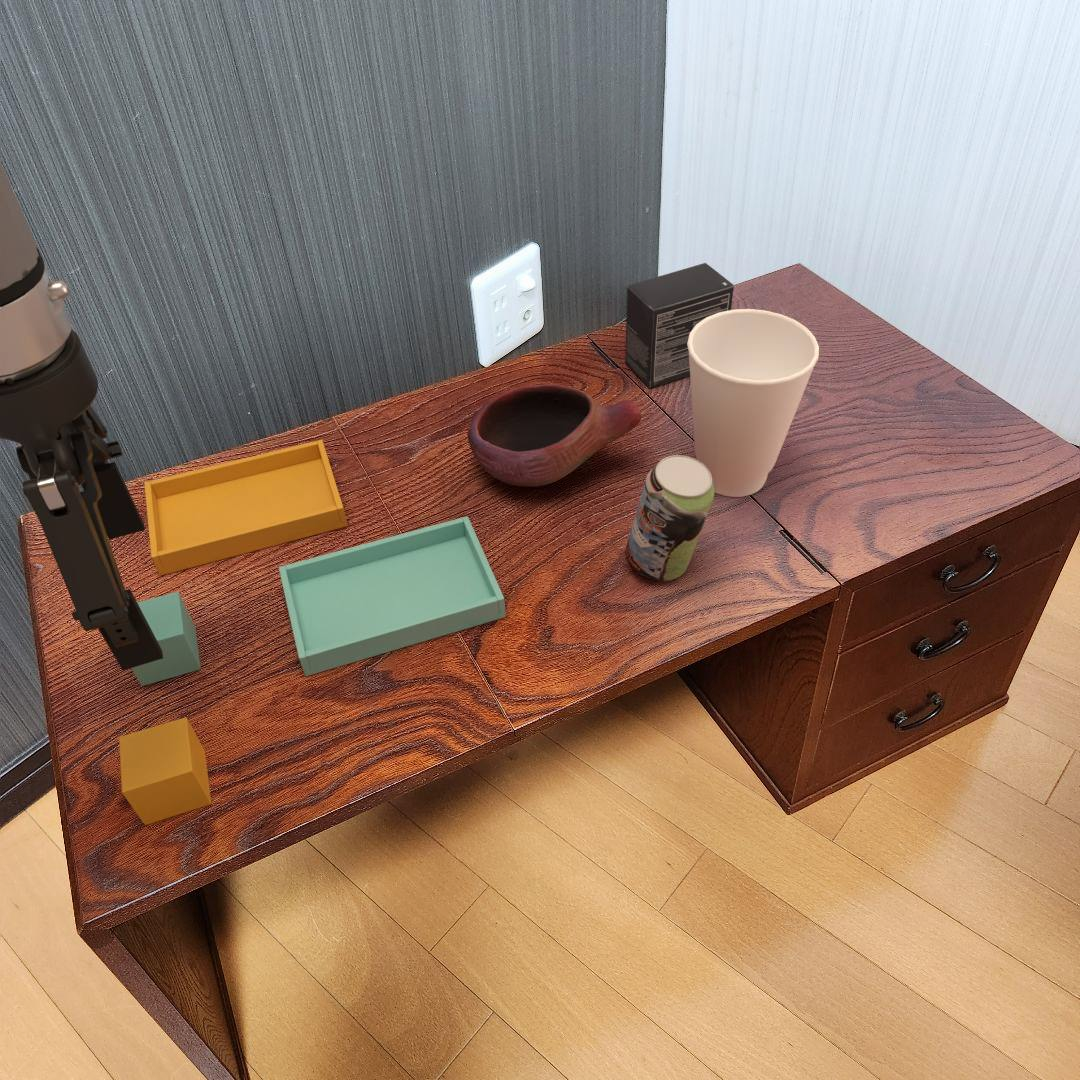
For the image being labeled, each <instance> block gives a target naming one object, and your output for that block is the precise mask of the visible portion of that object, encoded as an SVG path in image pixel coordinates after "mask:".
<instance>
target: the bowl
mask: <svg viewBox="0 0 1080 1080" xmlns="http://www.w3.org/2000/svg"><path fill="white" fill-rule="evenodd" d="M641 412H642V411H641V408H640V407H639V406H638V404H637V403H636V402H635V401H634V400H631V399H623V400H620V401H618V402H616V403H614V404H608V405H607V404H599V403H598V402H597V401H596V400H594V398H593V397H592V396H591V395H589V394H588V393H587V392H586V391H584V390H580V389H578V388H576V387H573V386H568V385H564V384H558V383H557V384H555V383H545V384H535V385H523V386H518V387H514V388H511V389H508V390H506V391H505V390H504V391H503V392H501V393H499V394H496V395H494V396H492V397H491V398H490V399H488V400H487V401H486V402H485V403H483V405H482V407H481V408H480V409H479V410H478V411H477V412H476V413H475V414H474V415H473V416H472V417H471V421H470V424H469V428H468V430H467V432H466V435H467V440H468V443H469V446H470V447H469V448H470V450H471V452H472V455H473V456H474V458H475V460H476V461H477V462H478V464H479V466H480V467H481V468H482V469H483V470H484V471H485V472H486V473H487V474H489V475H490V476H492V477H493V478H495V479H496V480H498V481H500V482H502V483H505V484H508V485H511V486H516V487H542V486H546V485H550V484H553V483H555V482H557V481H560V480H561V479H563V478H565V477H567V476H568V475H569V474H571V473H573V471H575V470H576V469H577V468H579V467H580V466H581V465H583V464H584V463H585V462H586V461H587V460H588V459H590V458H591V457H592V456H593V455H595V454H596V453H597V452H598V451H600V450H602V448H605V446H607V445H609V444H611V443H613V442H615V441H616V440H618V439H620V438H622V437H623V436H625V435H627V434H628V433H630V432H631V431H633V430H634V429H635V428H636V427H637V426H638V425H639V424H640V422H641V421H642V413H641Z"/></svg>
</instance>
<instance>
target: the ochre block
mask: <svg viewBox="0 0 1080 1080" xmlns="http://www.w3.org/2000/svg"><path fill="white" fill-rule="evenodd" d="M118 741H119V759H120V760H119V761H120V782H121V783H120V784H121V794H122V795H123V796H124V799H126V801H127V802H128V803H129V805H130V806H131V807H132V809H133V810H134V812H135V813H136V815H137V816H138V818H139V819H140V820H141V822H142V824H143V825H144V826H148V825H150V824H154V823H158V822H160V821H163V820H166V819H169V818H172V817H175V816H178V815H182V814H185V813H188V812H191V811H194V810H198V809H200V808H201V809H202V808H203V807H204V808H205V807H206V806H210V805H212V798H211V797H212V796H211V787H210V781H209V773H208V766H207V765H208V763H207V757H206V750H205V749H204V747H203V745H202V743H201V742H200V739H199V737H198V736H197V734H196V732H195V730H194V728H193V727H192V725H191V723H190V721H189V719H188V718H187V717H182V718H178V719H175V720H171V721H167V722H165V723H161V724H159V725H155V726H152V727H148V728H145V729H142V730H139V731H134V732H131V733H127V734H125V735H121V736H119V738H118Z"/></svg>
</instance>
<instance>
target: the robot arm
mask: <svg viewBox="0 0 1080 1080" xmlns="http://www.w3.org/2000/svg"><path fill="white" fill-rule="evenodd" d="M36 242H37V241H36V240H35V238H34V236H33V233H32V231H31V228H30V227H29V224H28V221H27V219H26V217H25V215H24V212H23V210H22V208H21V205H20V203H19V200H18V199H17V196H16V194H15V191H14V189H13V187H12V185H11V183H10V180H9V178H8V176H7V173H6V171H5V167H4V166H3V163H2V162H1V161H0V440H6V441H9V442H14V443H17V444H19V446H16V447H15V451H16V452H15V453H16V456H17V458H18V462H19V464H20V468H21V469H22V471H23V472H24V473H26V474H27V476H28V478H29V479H27V480H24V481H22V492H23V495H24V496H25V497H26V498H27V500H28V502H29V504H30V506H31V508H32V510H33V512H34V514H35V515H36V518H37V519H38V521H39V523H40V526H41V528H42V532H43V533H44V536H45V538H46V540H47V543H48V545H49V549H50V551H51V553H52V555H53V558H54V561H55V563H56V565H57V568H58V570H59V572H60V575H61V578H62V580H63V582H64V584H65V587H66V589H67V592H68V594H69V597H70V599H71V601H72V604H73V607H74V609H75V610H74V611H72V612H71V616H72V618H73V620H74V621H75V622H77V621H79V625H80V626H81V628H82V629H83V631H85V632H89V631H90V632H91V631H93V630H96V629H97V630H98V631H99V633H100V634H101V636H102V638H103V640H104V641H105V643H106V645H107V646H108V648H109V650H110V652H111V654H112V655H113V657H114V658H115V660H116V662H117V663H118V666H119V667H120V668H121V671H123V672H124V671H127V670H130V669H131V668H133V667H137V666H140V665H143V664H146V663H150V662H153V661H156V660H159V659H163V653H162V649H161V647H160V645H159V643H158V641H157V639H156V638H155V636H154V634H153V632H152V630H151V628H150V626H149V624H148V622H147V620H146V618H145V617H144V615H143V613H142V611H141V609H140V607H139V605H138V603H137V602H138V601H137V599H136V598H135V595H134V594H133V592H132V590H131V588H127V589H126V588H125V584H124V581H123V578H122V575H121V573H120V569H119V567H118V564H117V561H116V558H115V555H114V552H113V548H112V545H111V543H110V540H114V539H118V538H121V537H125V536H128V535H132V534H135V533H139V532H144V531H145V530H146V526H145V522H144V520H143V518H142V516H141V514H140V512H139V510H138V508H137V505H136V503H135V501H134V499H133V497H132V495H131V493H130V490H129V489H128V488H129V487H128V486H127V484H126V482H125V480H124V478H123V475H122V473H121V471H120V469H119V467H118V465H117V463H116V461H113V462H109V461H108V460H112V459H116V458H120V457H123V451H122V448H121V444H120V442H119V441H118V440H114V441H109V442H106V440H104V439H108V429H107V426H105V425H104V423H103V422H102V420H101V419H100V417H99V416H98V414H97V413H96V411H95V410H94V408H93V407H92V404H93V402H94V400H95V399H96V396H97V394H98V390H99V381H98V380H99V379H98V377H97V373H96V372H95V370H94V368H93V365H92V362H91V361H90V359H89V356H88V354H87V352H86V350H85V348H84V346H83V342H82V341H81V338H80V337H79V335H78V333H77V332H76V331H75V330H73V328H72V321H71V320H70V317H69V315H68V312H67V310H66V307H65V306H64V303H63V301H62V300H63V299H65V298H67V297H69V295H70V292H71V291H70V289H69V288H70V287H69V286H68V284H67V283H66V282H65V281H64V280H54V281H50V273H49V270H48V268H47V266H46V265H45V261H44V258H43V256H42V254H41V252H40V250H39V247H38V244H37V243H36ZM80 486H81V488H82V489H83V491H81V488H80Z"/></svg>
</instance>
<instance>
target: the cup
mask: <svg viewBox="0 0 1080 1080" xmlns="http://www.w3.org/2000/svg"><path fill="white" fill-rule="evenodd" d="M687 346H688V350H689V363H690V376H689V378H690V392H691V393H690V394H691V410H692V411H691V412H692V426H693V427H692V428H693V443H694V454H695V459H696V460H698V461H699V462H701V463H702V464H703V465H705V466H706V467H707V469H708V470H709V472H710V473H711V476H712V483H713V486H714V494H717V495H720V496H724V497H730V498H743V497H747V496H751V495H753V494H755V493H757V492H759V491H760V490H761V489H762V488H763V487H764V485H765V484H766V482H767V479H768V476H769V473H770V472H772V470H773V469H774V467H775V465H776V462H777V460H778V458H779V455H780V453H781V450H782V448H783V445H784V443H785V440H786V438H787V436H788V433H789V431H790V428H791V425H792V422H793V420H794V419H795V418H794V417H795V416H796V412H797V410H798V408H799V405H800V403H801V400H802V398H803V395H804V393H805V390H806V388H807V385H808V382H809V380H810V377H811V375H812V372H813V370H814V368H815V366H816V364H817V362H818V360H819V355H820V346H819V344H818V341H817V338H816V336H815V335H814V333H812V332H811V331H810V329H809V328H808V327H807V326H805V325H803V324H802V323H800V322H799V321H798V320H796V319H793V318H791V317H789V316H786V315H784V314H782V313H777V312H773V311H769V310H764V309H754V308H740V309H739V308H737V309H731V310H729V311H724V312H719V313H716V314H714V315H711V316H709V317H706V318H705V319H703V320H702V321H701V322H699V323H698V324H696V326H695V327H694V328H693V330H692V331H691V332H690V334H689V338H688V342H687Z"/></svg>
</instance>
